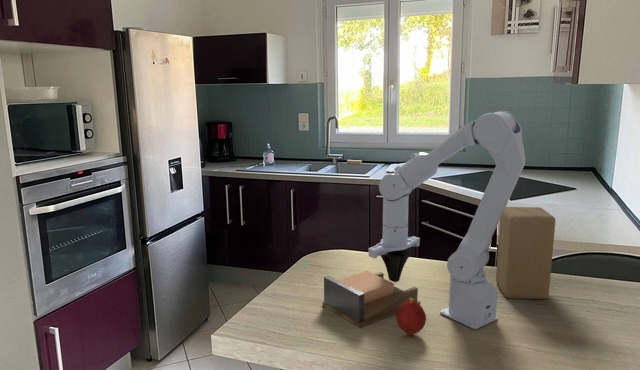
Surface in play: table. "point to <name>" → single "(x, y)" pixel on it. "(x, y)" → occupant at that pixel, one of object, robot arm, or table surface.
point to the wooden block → (525, 252)
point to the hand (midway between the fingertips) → (394, 280)
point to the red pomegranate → (411, 317)
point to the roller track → (352, 302)
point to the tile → (370, 286)
